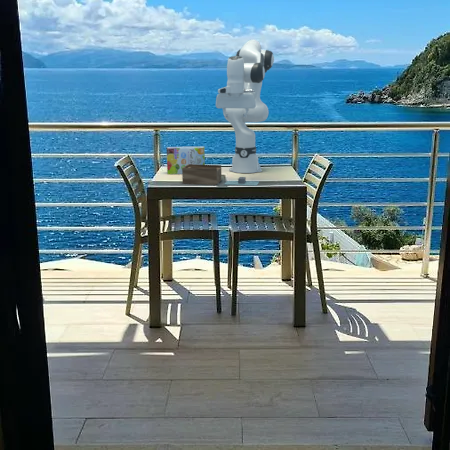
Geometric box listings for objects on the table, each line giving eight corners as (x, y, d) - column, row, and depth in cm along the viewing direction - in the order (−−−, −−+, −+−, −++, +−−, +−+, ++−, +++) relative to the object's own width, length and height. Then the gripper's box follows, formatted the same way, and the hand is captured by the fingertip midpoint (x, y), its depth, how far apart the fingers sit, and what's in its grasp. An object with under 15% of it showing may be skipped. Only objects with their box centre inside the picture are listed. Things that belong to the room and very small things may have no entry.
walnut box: (188, 179, 311) (188, 164, 309) (221, 180, 308) (221, 165, 306) (182, 183, 300) (182, 167, 298) (216, 184, 297) (216, 168, 295)
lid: (227, 182, 306) (227, 175, 306) (259, 183, 303) (259, 176, 302) (224, 185, 297) (224, 179, 296) (256, 186, 294) (256, 180, 293)
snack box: (204, 172, 333) (204, 146, 329) (204, 174, 327) (204, 147, 323) (167, 172, 332) (166, 146, 328) (167, 174, 327) (166, 147, 323)
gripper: (257, 89, 294) (256, 117, 297) (217, 89, 297) (217, 116, 301) (255, 89, 288) (255, 118, 291) (214, 89, 291) (215, 117, 295)
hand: (235, 117), depth 296 cm, fingers open, 8 cm apart
